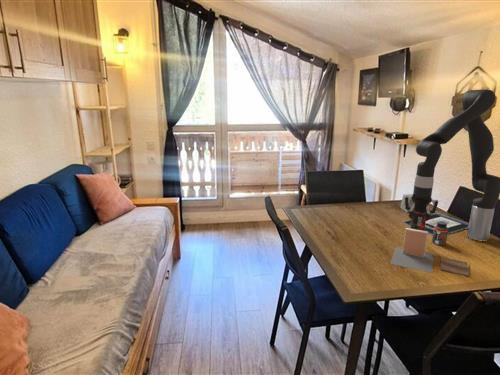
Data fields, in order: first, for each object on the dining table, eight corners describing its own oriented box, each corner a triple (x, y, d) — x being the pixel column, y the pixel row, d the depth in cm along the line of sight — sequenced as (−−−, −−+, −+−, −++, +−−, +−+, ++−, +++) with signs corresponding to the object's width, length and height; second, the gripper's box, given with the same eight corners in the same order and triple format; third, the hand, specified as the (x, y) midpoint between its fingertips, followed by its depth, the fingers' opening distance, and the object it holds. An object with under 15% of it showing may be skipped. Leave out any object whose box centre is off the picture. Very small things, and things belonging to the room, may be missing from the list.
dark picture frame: (402, 224, 189) (402, 220, 188) (437, 215, 201) (438, 212, 200) (437, 238, 170) (437, 234, 169) (473, 227, 182) (474, 224, 182)
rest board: (440, 259, 147) (440, 257, 147) (467, 264, 143) (467, 262, 142) (440, 271, 137) (440, 269, 137) (468, 277, 133) (469, 275, 132)
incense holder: (407, 214, 203) (410, 197, 200) (399, 209, 210) (401, 193, 208) (422, 212, 204) (424, 196, 201) (413, 208, 212) (415, 193, 209)
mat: (395, 248, 158) (395, 247, 158) (433, 255, 151) (433, 254, 150) (390, 264, 143) (390, 263, 143) (431, 273, 136) (432, 272, 135)
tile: (402, 251, 154) (405, 227, 150) (424, 255, 149) (428, 231, 146) (402, 253, 152) (405, 229, 149) (424, 257, 148) (427, 232, 145)
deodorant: (420, 227, 159) (424, 197, 155) (426, 232, 153) (431, 201, 149) (407, 227, 159) (411, 197, 155) (414, 232, 153) (418, 201, 149)
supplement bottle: (438, 247, 159) (442, 225, 156) (429, 242, 164) (432, 221, 161) (448, 245, 160) (452, 224, 157) (438, 240, 166) (442, 219, 163)
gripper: (441, 185, 150) (436, 219, 154) (407, 181, 157) (402, 214, 161) (441, 189, 143) (435, 225, 148) (405, 185, 150) (401, 219, 155)
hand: (418, 219), depth 155 cm, fingers closed on deodorant, 6 cm apart
